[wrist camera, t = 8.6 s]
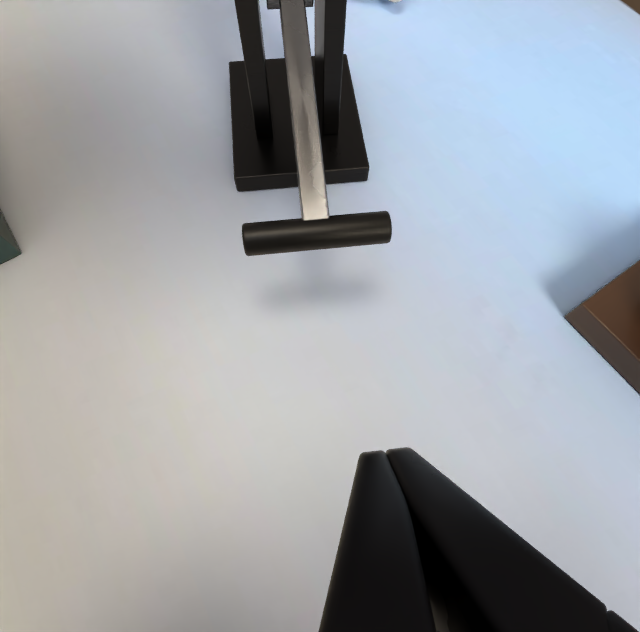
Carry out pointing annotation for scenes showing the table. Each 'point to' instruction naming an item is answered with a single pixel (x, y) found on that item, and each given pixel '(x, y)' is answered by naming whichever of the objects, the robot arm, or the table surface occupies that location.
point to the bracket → (274, 108)
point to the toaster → (7, 242)
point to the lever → (309, 163)
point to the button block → (614, 323)
